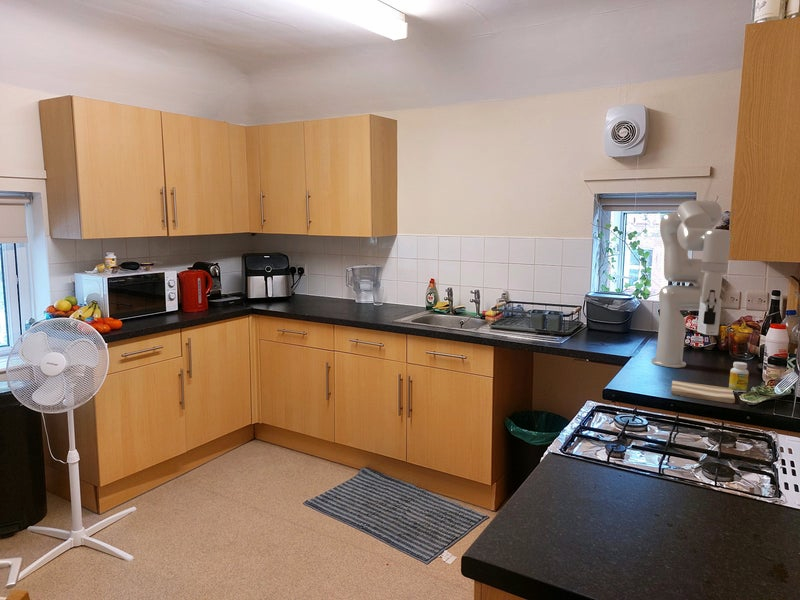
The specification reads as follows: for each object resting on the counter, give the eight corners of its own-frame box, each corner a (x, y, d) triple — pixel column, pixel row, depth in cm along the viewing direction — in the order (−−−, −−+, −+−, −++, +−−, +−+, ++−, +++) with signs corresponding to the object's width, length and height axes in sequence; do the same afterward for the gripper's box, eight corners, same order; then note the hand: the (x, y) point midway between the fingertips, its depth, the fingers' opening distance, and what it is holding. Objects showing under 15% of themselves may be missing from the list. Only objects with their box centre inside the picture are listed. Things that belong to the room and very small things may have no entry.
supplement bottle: (739, 388, 201) (742, 361, 200) (750, 393, 196) (753, 365, 194) (724, 388, 200) (727, 361, 199) (735, 393, 195) (738, 364, 194)
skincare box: (718, 335, 189) (722, 298, 187) (705, 335, 189) (709, 298, 188) (709, 332, 195) (713, 296, 193) (696, 331, 195) (700, 295, 194)
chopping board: (671, 384, 203) (672, 380, 203) (731, 392, 195) (731, 388, 195) (670, 394, 190) (671, 390, 190) (734, 403, 183) (734, 399, 182)
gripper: (700, 265, 199) (695, 317, 201) (701, 269, 183) (695, 325, 185) (725, 267, 195) (720, 320, 198) (729, 270, 180) (722, 327, 182)
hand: (708, 322), depth 192 cm, fingers closed on skincare box, 7 cm apart
